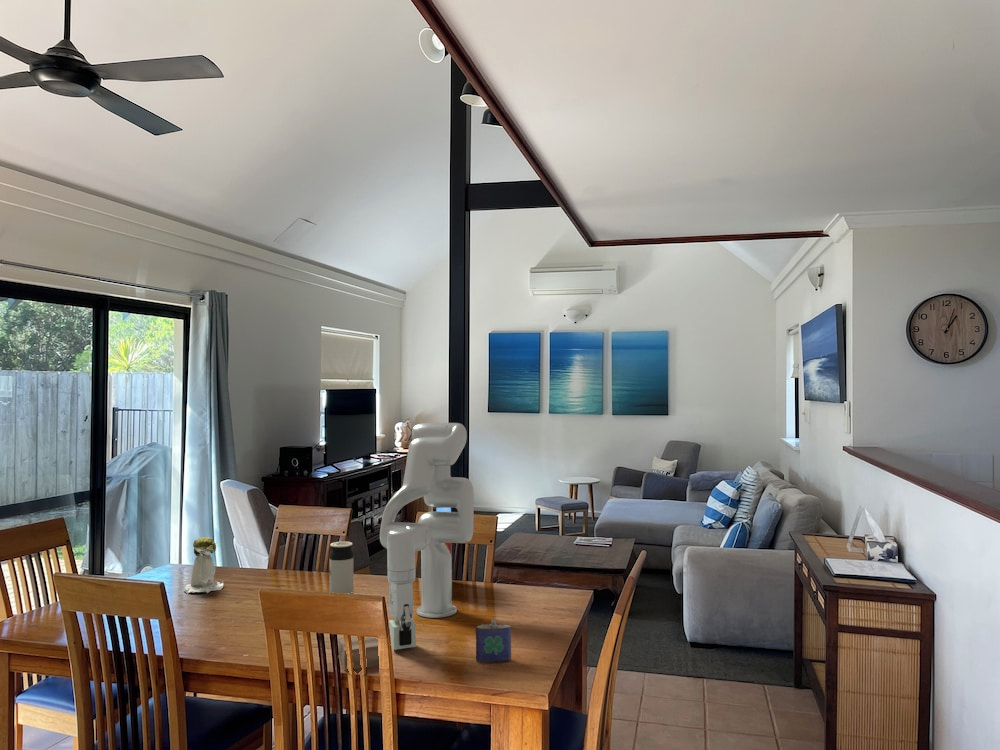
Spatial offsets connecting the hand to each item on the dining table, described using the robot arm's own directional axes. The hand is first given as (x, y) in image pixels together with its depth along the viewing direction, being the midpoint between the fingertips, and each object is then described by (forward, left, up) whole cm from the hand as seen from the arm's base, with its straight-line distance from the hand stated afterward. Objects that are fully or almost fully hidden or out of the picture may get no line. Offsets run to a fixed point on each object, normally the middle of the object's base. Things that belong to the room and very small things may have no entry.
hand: (402, 640), depth 203 cm
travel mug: (-57, -7, -2) cm, 58 cm away
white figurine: (-85, -51, -2) cm, 100 cm away
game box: (-52, +28, -2) cm, 59 cm away
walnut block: (+6, -12, -2) cm, 14 cm away
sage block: (0, 0, -1) cm, 1 cm away
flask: (+19, +20, -2) cm, 27 cm away
